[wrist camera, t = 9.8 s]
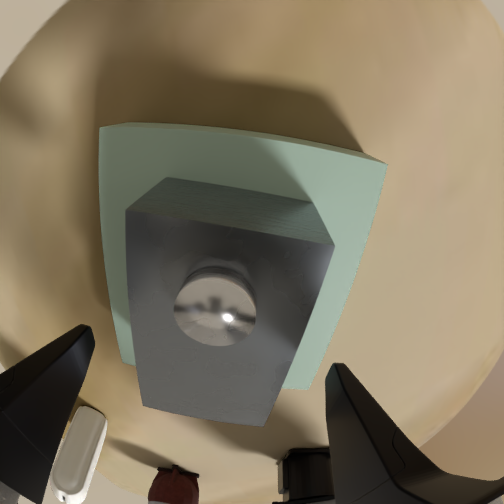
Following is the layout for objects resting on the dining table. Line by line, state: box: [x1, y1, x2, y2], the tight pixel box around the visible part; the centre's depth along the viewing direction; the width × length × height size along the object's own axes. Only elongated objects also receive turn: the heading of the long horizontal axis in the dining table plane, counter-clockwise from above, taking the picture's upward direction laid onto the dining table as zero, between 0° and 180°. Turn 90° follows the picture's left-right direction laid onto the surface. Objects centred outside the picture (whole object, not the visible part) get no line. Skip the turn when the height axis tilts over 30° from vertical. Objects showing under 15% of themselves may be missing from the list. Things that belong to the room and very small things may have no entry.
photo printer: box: [50, 406, 107, 504], centre depth 22 cm, size 10×4×12 cm, turn 152°
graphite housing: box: [125, 177, 335, 427], centre depth 12 cm, size 10×6×5 cm, turn 170°
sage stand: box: [99, 122, 388, 390], centre depth 15 cm, size 12×14×3 cm
